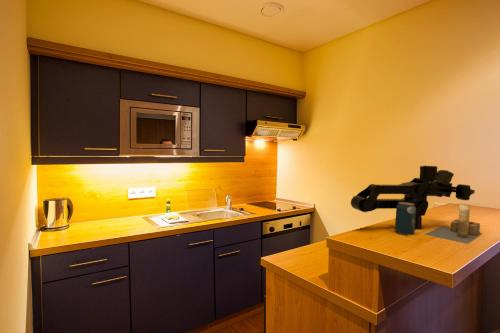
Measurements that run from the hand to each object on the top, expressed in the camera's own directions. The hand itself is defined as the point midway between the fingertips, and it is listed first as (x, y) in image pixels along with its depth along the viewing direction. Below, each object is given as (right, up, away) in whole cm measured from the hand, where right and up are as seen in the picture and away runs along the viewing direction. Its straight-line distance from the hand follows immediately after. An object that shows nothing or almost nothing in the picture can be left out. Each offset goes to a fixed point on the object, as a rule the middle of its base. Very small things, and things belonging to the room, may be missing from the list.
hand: (464, 189), depth 126 cm
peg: (-13, -17, -16) cm, 27 cm away
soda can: (-33, -16, -12) cm, 39 cm away
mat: (-14, -17, -12) cm, 25 cm away
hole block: (-7, -17, -9) cm, 20 cm away
